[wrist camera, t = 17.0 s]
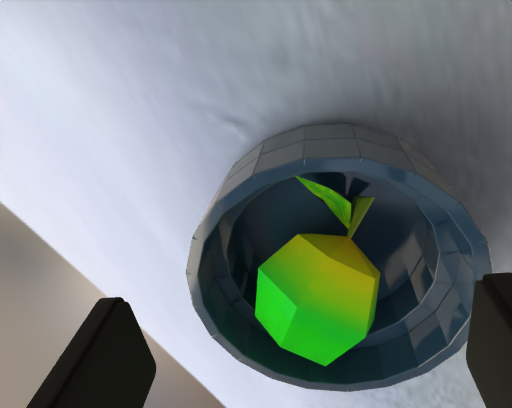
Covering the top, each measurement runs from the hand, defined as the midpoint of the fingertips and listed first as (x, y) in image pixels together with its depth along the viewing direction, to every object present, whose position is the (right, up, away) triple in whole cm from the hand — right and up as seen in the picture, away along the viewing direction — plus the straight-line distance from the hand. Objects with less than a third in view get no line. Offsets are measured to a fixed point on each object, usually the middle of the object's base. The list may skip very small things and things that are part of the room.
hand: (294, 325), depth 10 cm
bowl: (+3, +2, +11) cm, 11 cm away
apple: (0, -4, +9) cm, 10 cm away
